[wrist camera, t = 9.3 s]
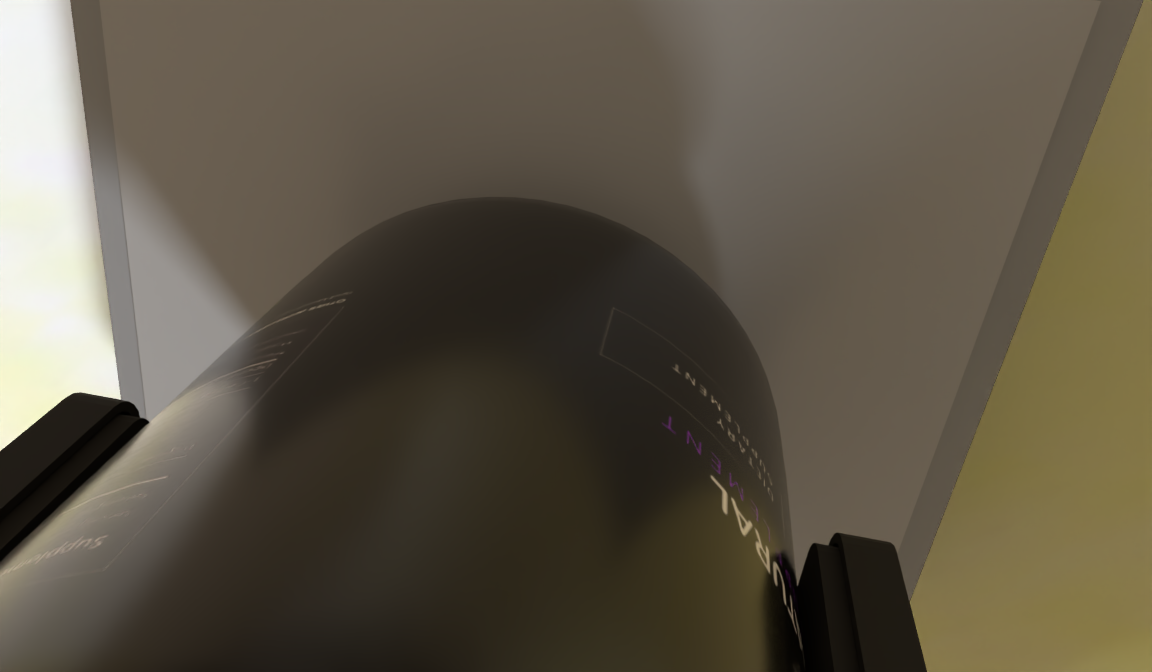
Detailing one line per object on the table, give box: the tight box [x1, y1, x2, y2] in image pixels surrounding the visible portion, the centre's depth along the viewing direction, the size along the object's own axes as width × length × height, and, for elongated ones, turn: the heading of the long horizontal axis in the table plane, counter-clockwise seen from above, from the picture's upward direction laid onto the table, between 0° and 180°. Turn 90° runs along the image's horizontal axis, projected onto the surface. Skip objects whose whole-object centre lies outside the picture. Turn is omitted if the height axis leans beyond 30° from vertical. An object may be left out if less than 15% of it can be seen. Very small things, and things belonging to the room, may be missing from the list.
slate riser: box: [70, 0, 1143, 602], centre depth 15 cm, size 13×13×4 cm
